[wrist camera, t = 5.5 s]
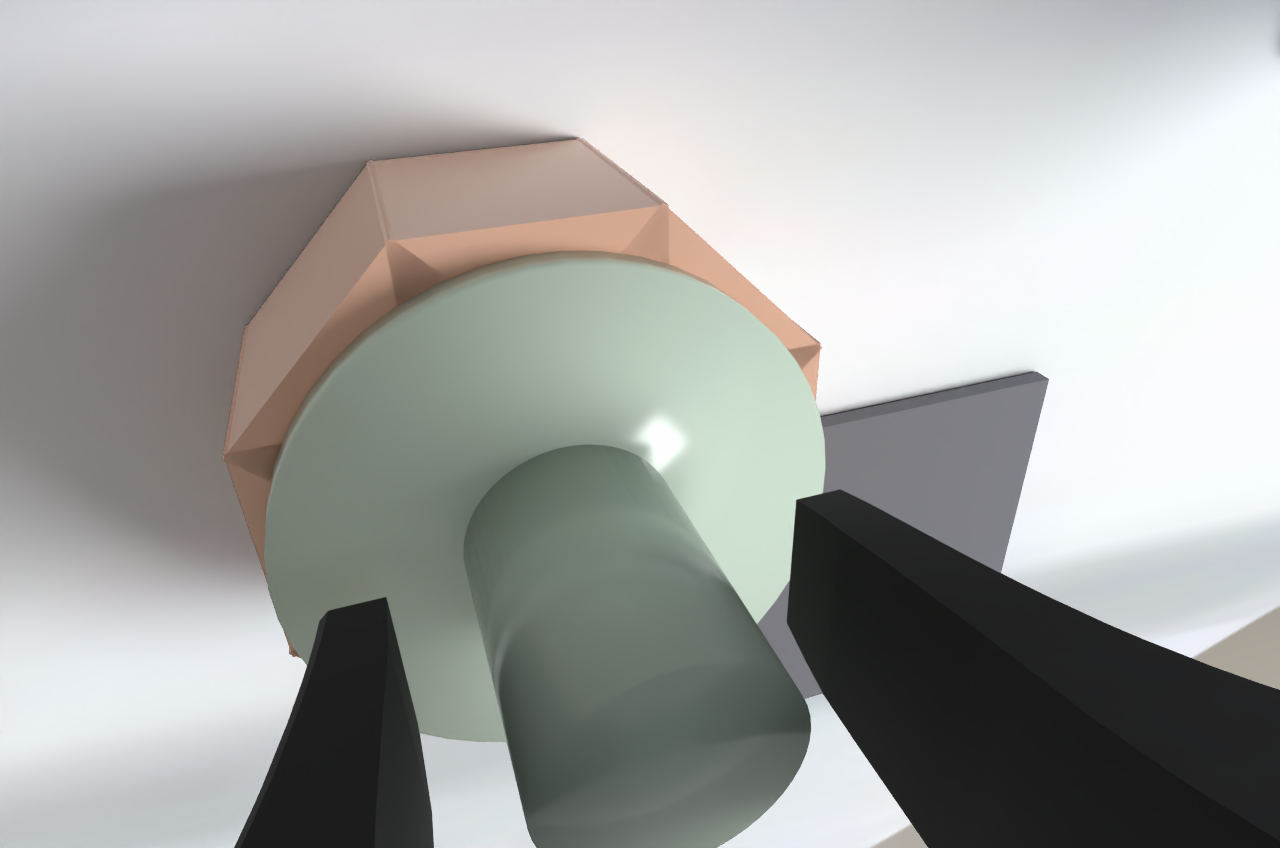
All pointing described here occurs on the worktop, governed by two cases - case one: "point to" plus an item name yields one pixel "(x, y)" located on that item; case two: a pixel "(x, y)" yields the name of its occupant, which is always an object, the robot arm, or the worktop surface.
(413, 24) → the worktop surface
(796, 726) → the lid
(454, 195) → the bowl
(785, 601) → the mat
